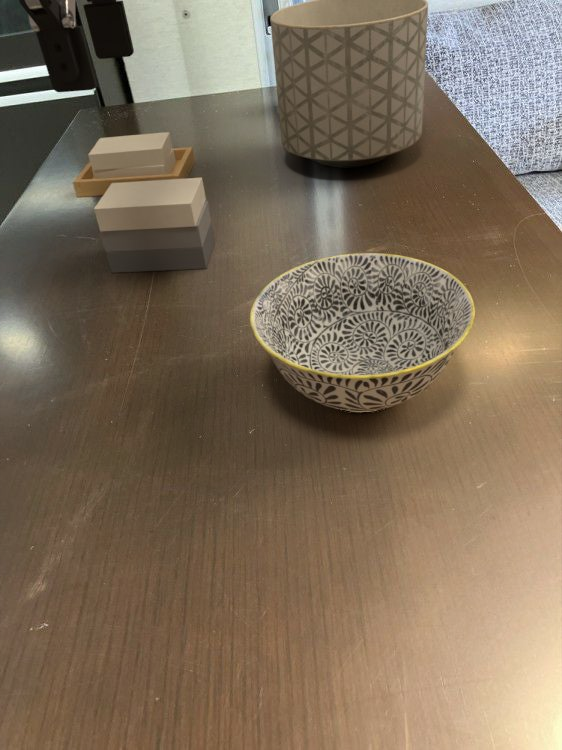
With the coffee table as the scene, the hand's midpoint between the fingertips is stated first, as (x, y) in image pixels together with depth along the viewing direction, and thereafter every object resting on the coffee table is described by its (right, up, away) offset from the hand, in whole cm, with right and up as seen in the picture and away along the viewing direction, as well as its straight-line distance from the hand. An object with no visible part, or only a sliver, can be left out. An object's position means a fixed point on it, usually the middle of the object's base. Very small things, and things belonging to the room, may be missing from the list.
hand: (97, 72), depth 49 cm
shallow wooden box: (-6, +4, +39) cm, 40 cm away
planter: (+24, +7, +38) cm, 46 cm away
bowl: (+21, -25, +1) cm, 32 cm away
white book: (+1, -7, +17) cm, 18 cm away
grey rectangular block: (+2, -11, +20) cm, 23 cm away
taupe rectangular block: (-6, +4, +39) cm, 40 cm away
